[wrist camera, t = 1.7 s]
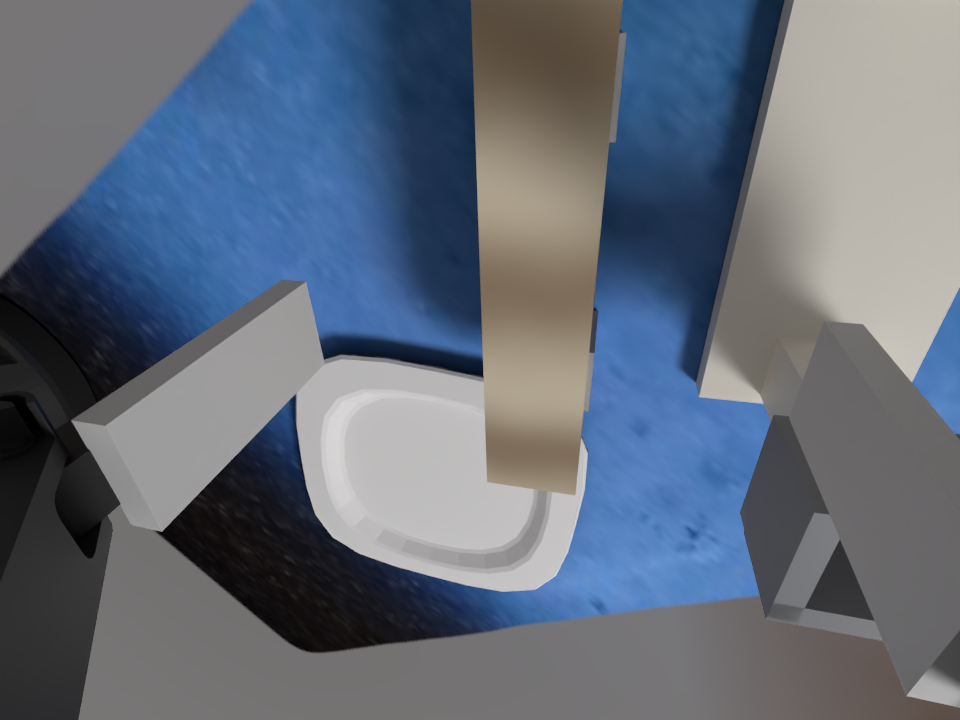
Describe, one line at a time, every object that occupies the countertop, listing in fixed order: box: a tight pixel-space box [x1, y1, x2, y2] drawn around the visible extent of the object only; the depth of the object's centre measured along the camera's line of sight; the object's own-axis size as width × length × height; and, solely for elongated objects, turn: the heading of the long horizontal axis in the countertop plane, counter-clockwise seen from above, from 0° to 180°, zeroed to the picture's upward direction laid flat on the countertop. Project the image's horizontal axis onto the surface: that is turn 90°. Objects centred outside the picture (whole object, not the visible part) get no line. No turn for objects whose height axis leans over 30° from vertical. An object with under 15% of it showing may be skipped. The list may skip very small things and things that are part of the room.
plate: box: [296, 353, 588, 592], centre depth 32 cm, size 18×18×2 cm
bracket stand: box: [696, 0, 960, 641], centre depth 14 cm, size 8×21×12 cm, turn 2°
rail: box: [471, 0, 623, 495], centre depth 17 cm, size 17×4×4 cm, turn 2°
